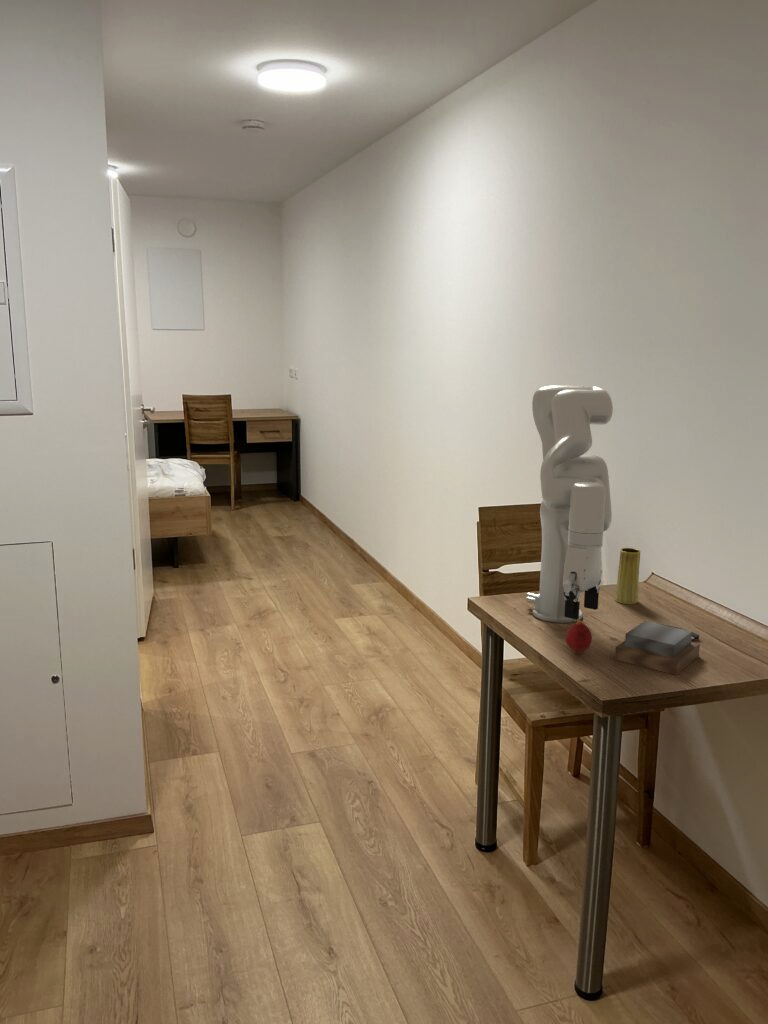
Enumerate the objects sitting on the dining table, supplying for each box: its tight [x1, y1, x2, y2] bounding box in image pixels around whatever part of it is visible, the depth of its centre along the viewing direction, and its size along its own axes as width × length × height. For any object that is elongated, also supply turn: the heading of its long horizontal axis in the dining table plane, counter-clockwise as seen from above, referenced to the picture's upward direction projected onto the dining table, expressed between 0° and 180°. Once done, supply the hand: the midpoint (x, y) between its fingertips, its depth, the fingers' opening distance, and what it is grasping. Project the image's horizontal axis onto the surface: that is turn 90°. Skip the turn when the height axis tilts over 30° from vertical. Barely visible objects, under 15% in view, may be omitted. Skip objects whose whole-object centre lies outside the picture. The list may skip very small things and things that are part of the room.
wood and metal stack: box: [614, 620, 701, 676], centre depth 196 cm, size 14×14×6 cm
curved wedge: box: [656, 623, 701, 642], centre depth 212 cm, size 8×14×2 cm, turn 30°
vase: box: [614, 547, 641, 605], centre depth 235 cm, size 6×6×14 cm
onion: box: [565, 619, 593, 655], centre depth 198 cm, size 6×6×8 cm
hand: (581, 613), depth 196 cm, fingers open, 9 cm apart
